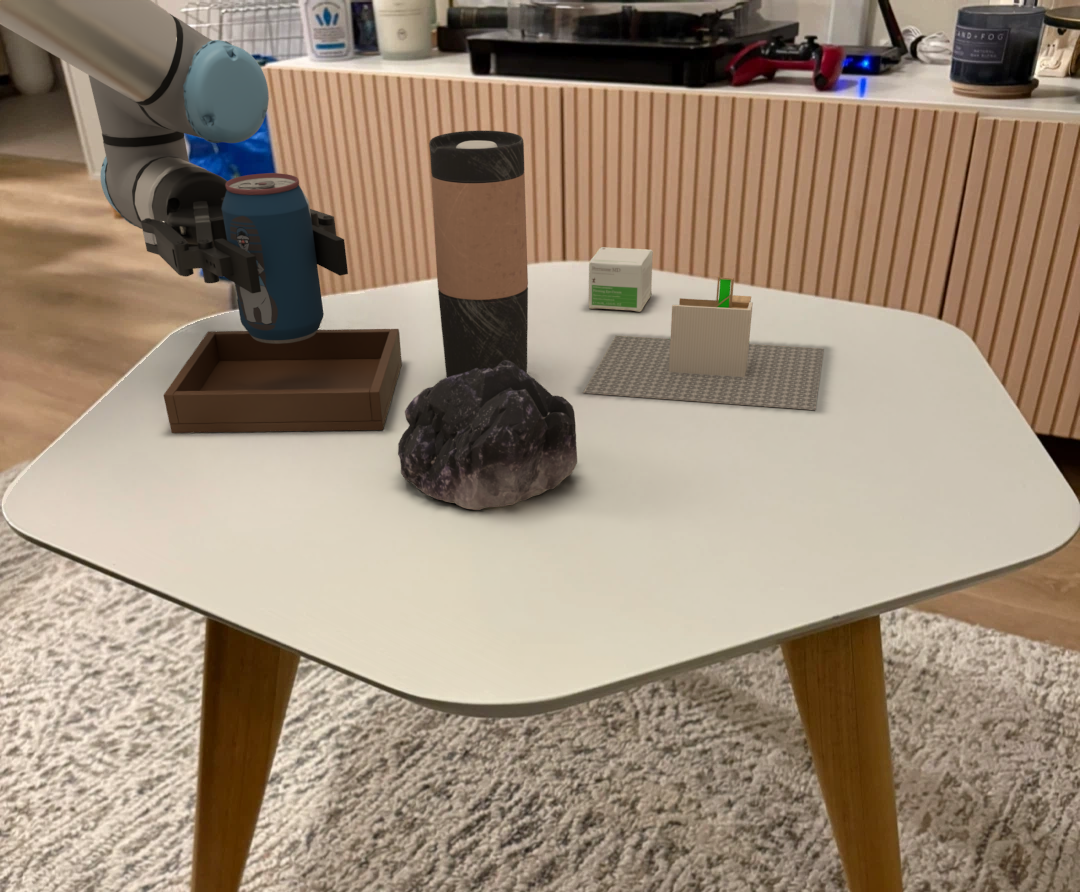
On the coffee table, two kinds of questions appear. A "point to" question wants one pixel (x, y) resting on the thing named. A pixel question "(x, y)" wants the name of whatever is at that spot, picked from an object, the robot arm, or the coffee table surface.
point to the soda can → (275, 256)
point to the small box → (620, 278)
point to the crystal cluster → (488, 438)
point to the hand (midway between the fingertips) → (298, 266)
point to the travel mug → (480, 248)
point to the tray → (286, 383)
